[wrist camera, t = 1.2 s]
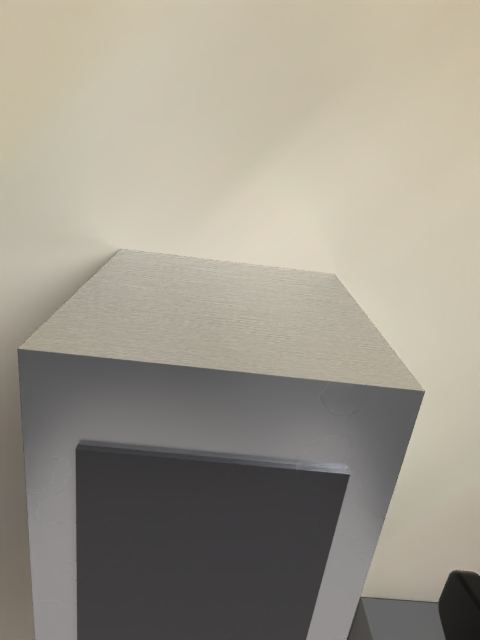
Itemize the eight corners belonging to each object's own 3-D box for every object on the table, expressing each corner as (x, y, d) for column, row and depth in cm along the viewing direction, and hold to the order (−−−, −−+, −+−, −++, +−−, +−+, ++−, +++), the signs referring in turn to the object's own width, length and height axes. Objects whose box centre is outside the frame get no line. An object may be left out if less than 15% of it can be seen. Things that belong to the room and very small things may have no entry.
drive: (333, 272, 11) (428, 395, 6) (275, 550, 14) (301, 792, 9) (122, 247, 10) (13, 352, 5) (113, 537, 14) (40, 780, 9)
